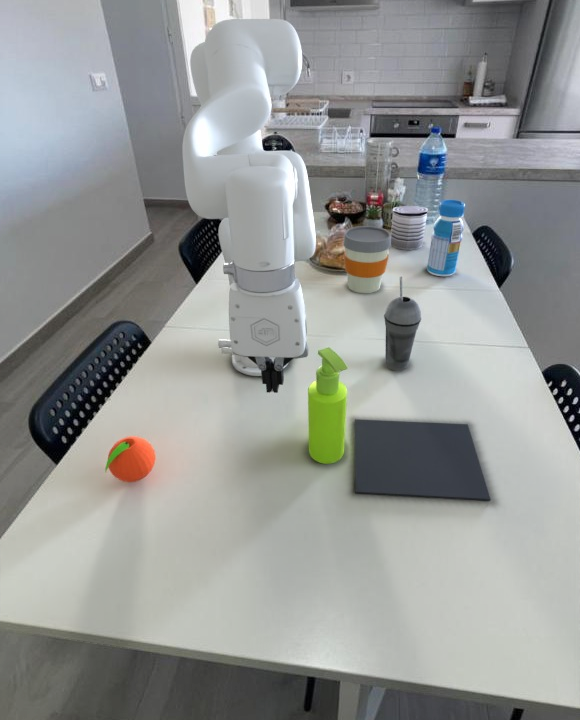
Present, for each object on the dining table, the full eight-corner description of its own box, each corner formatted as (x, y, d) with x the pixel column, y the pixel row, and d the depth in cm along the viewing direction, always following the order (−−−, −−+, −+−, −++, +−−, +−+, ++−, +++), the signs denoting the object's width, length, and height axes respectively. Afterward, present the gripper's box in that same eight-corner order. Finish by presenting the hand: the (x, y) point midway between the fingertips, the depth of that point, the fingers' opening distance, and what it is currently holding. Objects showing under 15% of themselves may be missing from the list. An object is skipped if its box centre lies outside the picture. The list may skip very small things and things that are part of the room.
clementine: (128, 503, 67) (116, 471, 63) (99, 484, 70) (85, 452, 66) (168, 468, 72) (159, 436, 68) (139, 451, 75) (129, 420, 71)
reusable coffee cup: (393, 282, 127) (399, 230, 118) (374, 300, 118) (379, 246, 109) (354, 273, 132) (357, 222, 124) (333, 289, 124) (334, 236, 115)
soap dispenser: (322, 473, 71) (323, 373, 59) (302, 445, 76) (300, 347, 64) (353, 460, 73) (360, 361, 62) (332, 433, 78) (335, 337, 67)
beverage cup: (413, 376, 91) (427, 287, 80) (377, 372, 92) (386, 284, 81) (414, 356, 97) (427, 270, 85) (380, 352, 98) (388, 268, 87)
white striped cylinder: (388, 249, 147) (392, 212, 140) (389, 236, 156) (392, 202, 149) (424, 250, 146) (429, 214, 139) (422, 238, 155) (427, 203, 148)
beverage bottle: (425, 275, 130) (435, 206, 119) (427, 264, 137) (437, 197, 125) (455, 278, 128) (468, 208, 117) (456, 267, 135) (469, 199, 123)
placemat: (355, 493, 68) (355, 491, 68) (354, 420, 81) (354, 419, 81) (490, 500, 66) (490, 499, 66) (467, 425, 79) (467, 424, 79)
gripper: (199, 284, 54) (218, 401, 64) (322, 287, 53) (321, 405, 63) (214, 260, 60) (230, 370, 71) (325, 262, 59) (324, 373, 70)
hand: (273, 386), depth 67 cm, fingers closed
